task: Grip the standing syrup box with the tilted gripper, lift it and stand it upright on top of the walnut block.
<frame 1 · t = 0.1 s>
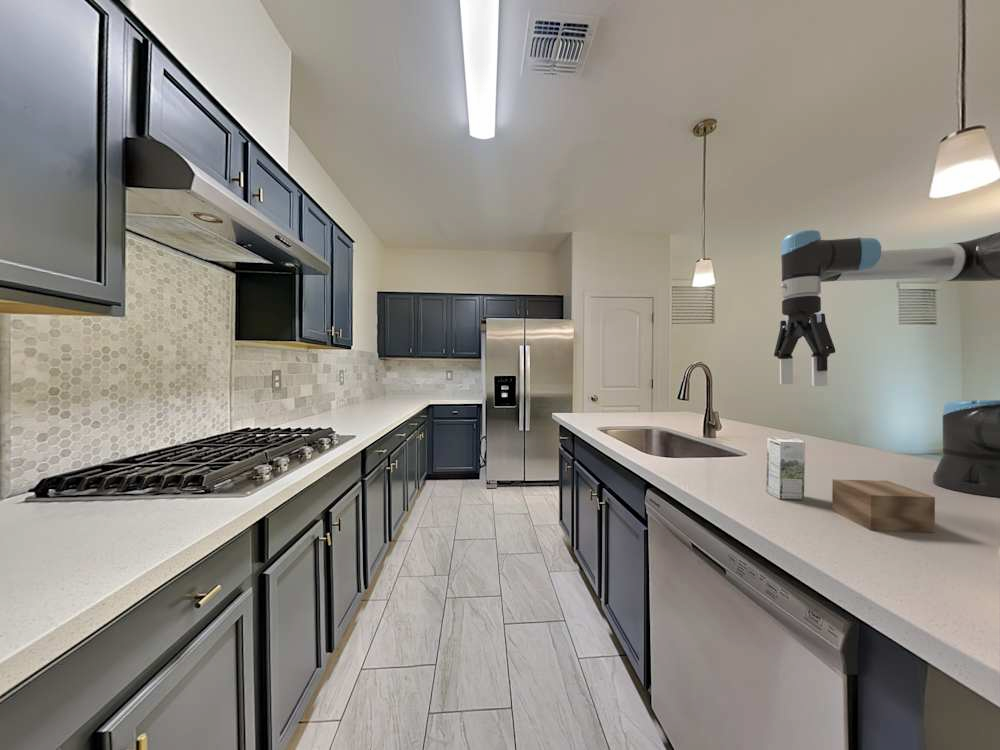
hand: (801, 385, 96), 28 cm above the countertop, tool pointing down, fingers open, 13 cm apart
walnut block: (879, 520, 83), on the countertop
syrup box: (785, 497, 99), on the countertop
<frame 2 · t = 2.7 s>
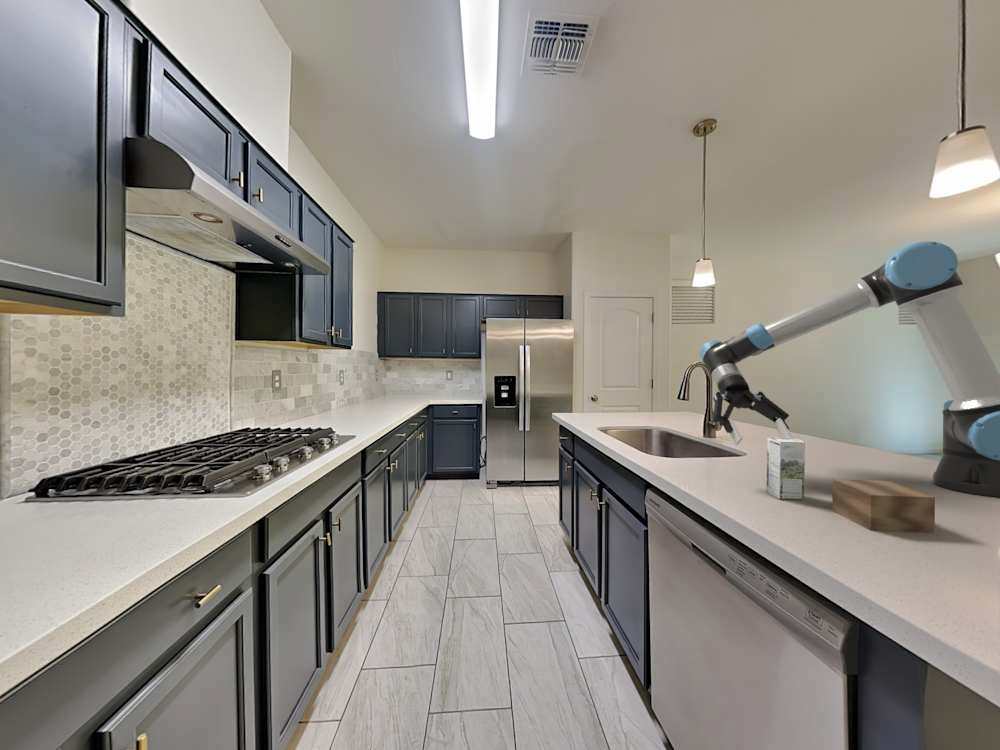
hand: (764, 441, 105), 13 cm above the countertop, tool tilted 45°, fingers open, 13 cm apart
nothing on the countertop moved.
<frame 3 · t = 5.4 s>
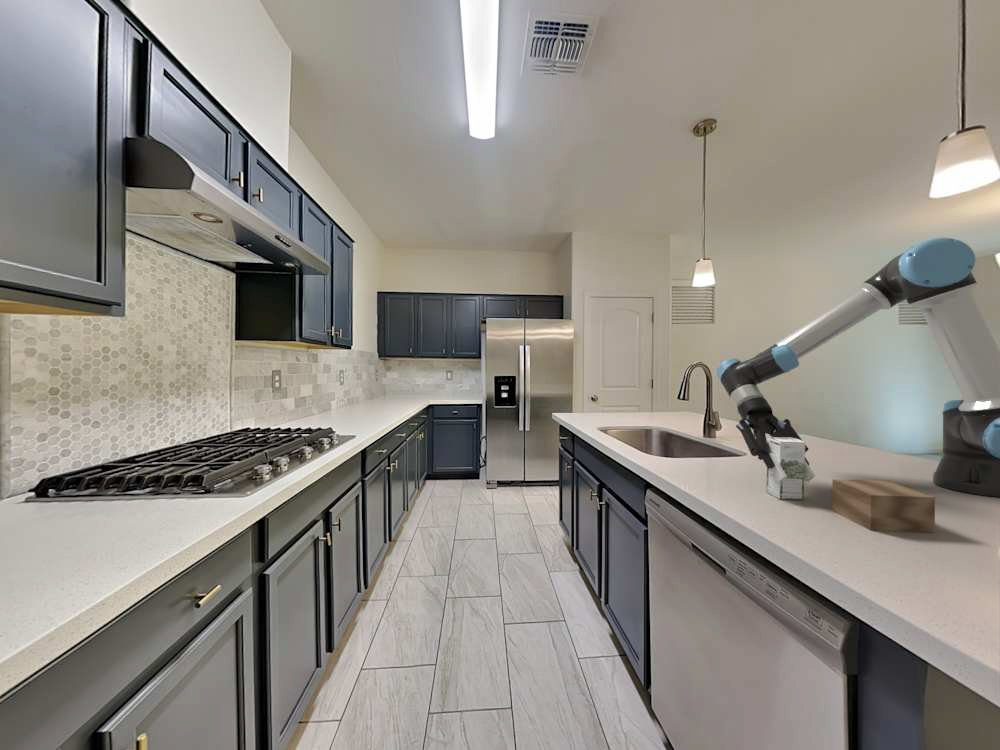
hand: (796, 478, 95), 5 cm above the countertop, tool tilted 45°, fingers closed on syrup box, 6 cm apart
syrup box: (785, 497, 99), on the countertop, touching gripper
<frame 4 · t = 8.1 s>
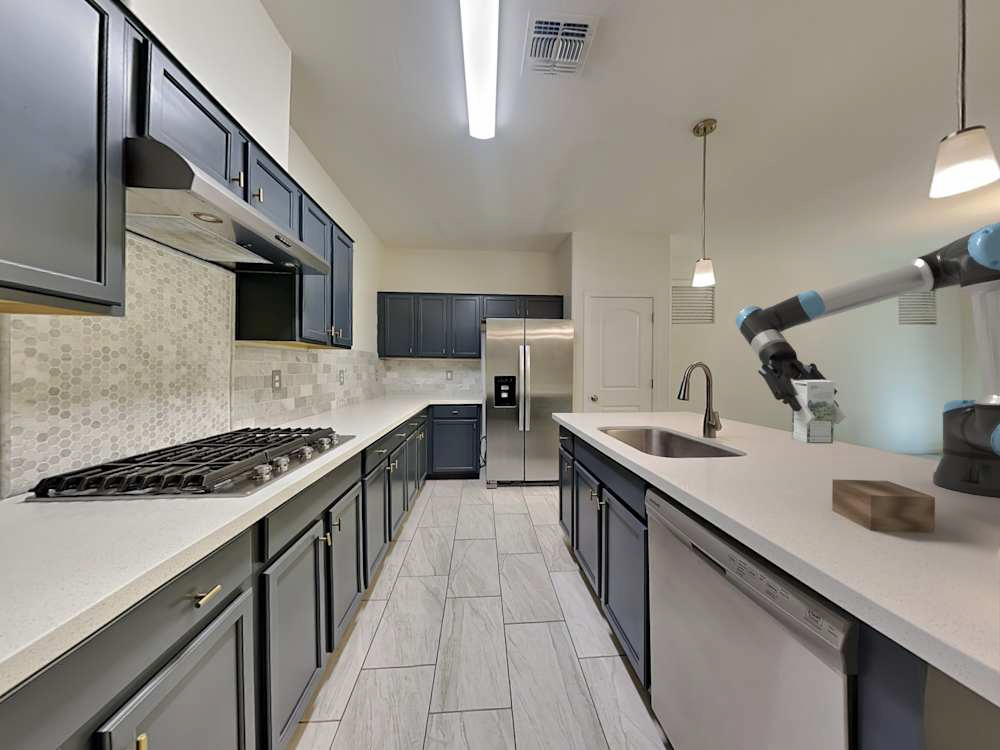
hand: (825, 420, 89), 20 cm above the countertop, tool tilted 45°, fingers closed on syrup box, 6 cm apart
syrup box: (812, 442, 93), point 15 cm above the countertop, touching gripper
when the fingers open (14 cm above the countertop, at t = 10.8 s): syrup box drops 1 cm, resting on walnut block.
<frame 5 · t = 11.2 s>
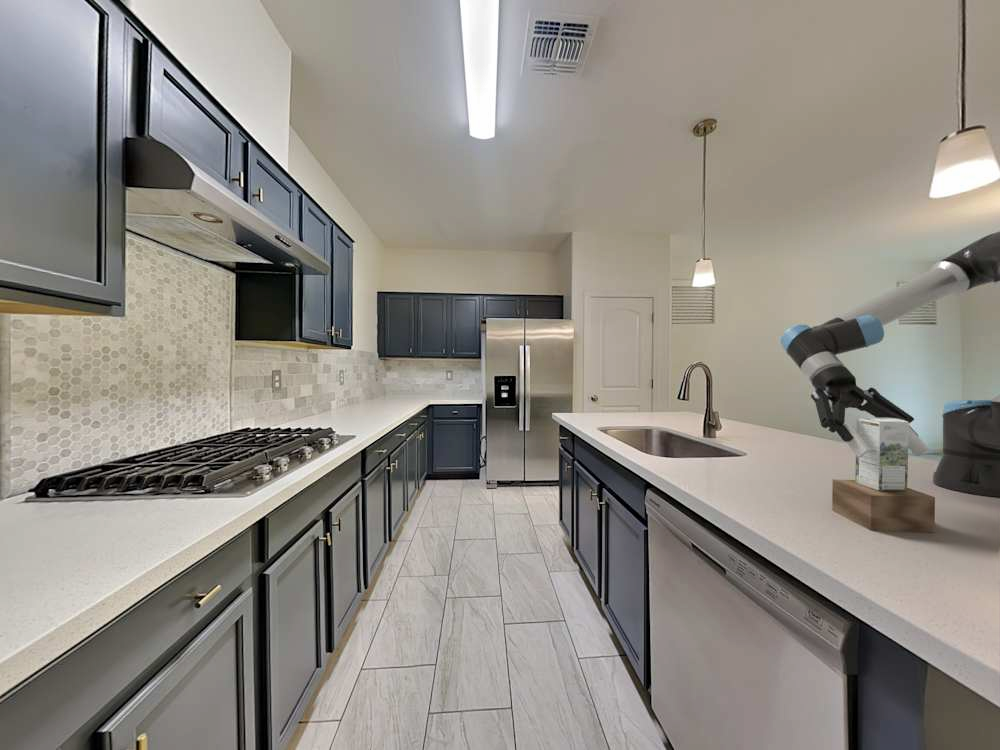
hand: (893, 453, 80), 15 cm above the countertop, tool tilted 45°, fingers open, 11 cm apart
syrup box: (880, 488, 83), point 7 cm above the countertop, touching walnut block
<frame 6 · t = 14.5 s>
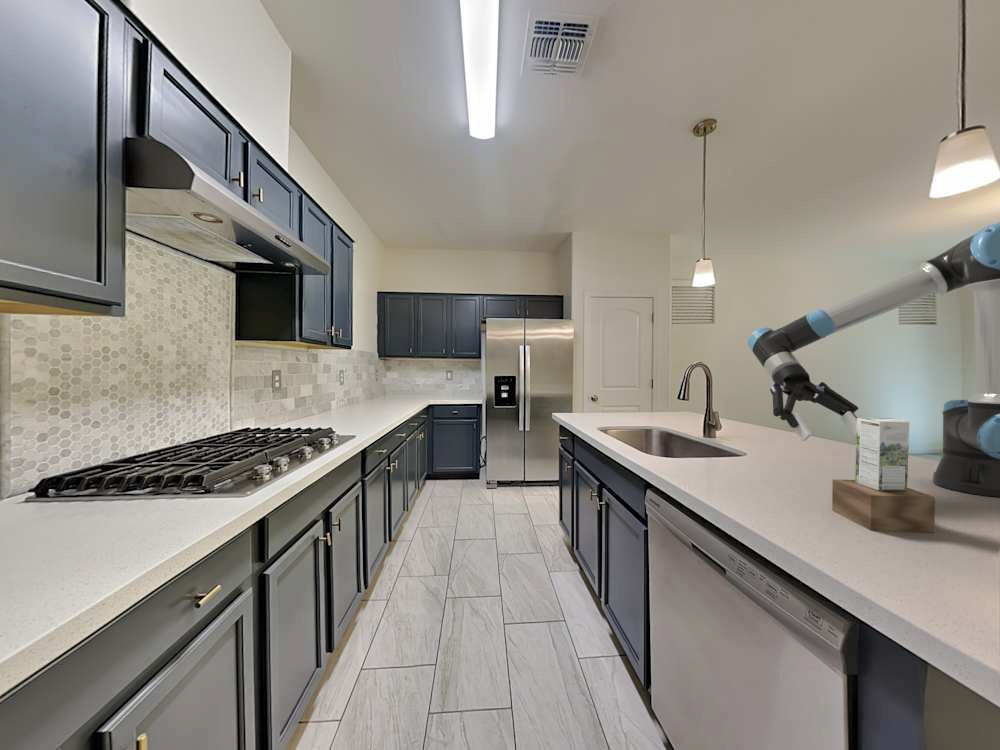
hand: (835, 437, 93), 16 cm above the countertop, tool tilted 45°, fingers open, 13 cm apart
nothing on the countertop moved.
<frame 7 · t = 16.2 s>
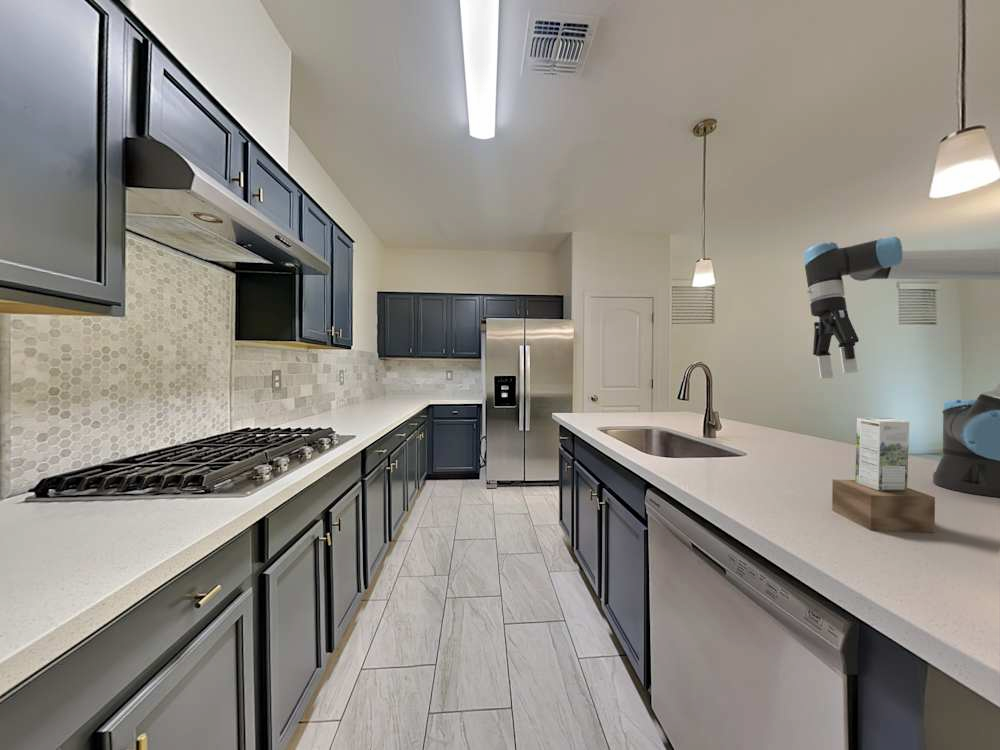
hand: (837, 375, 107), 30 cm above the countertop, tool pointing down, fingers open, 13 cm apart
nothing on the countertop moved.
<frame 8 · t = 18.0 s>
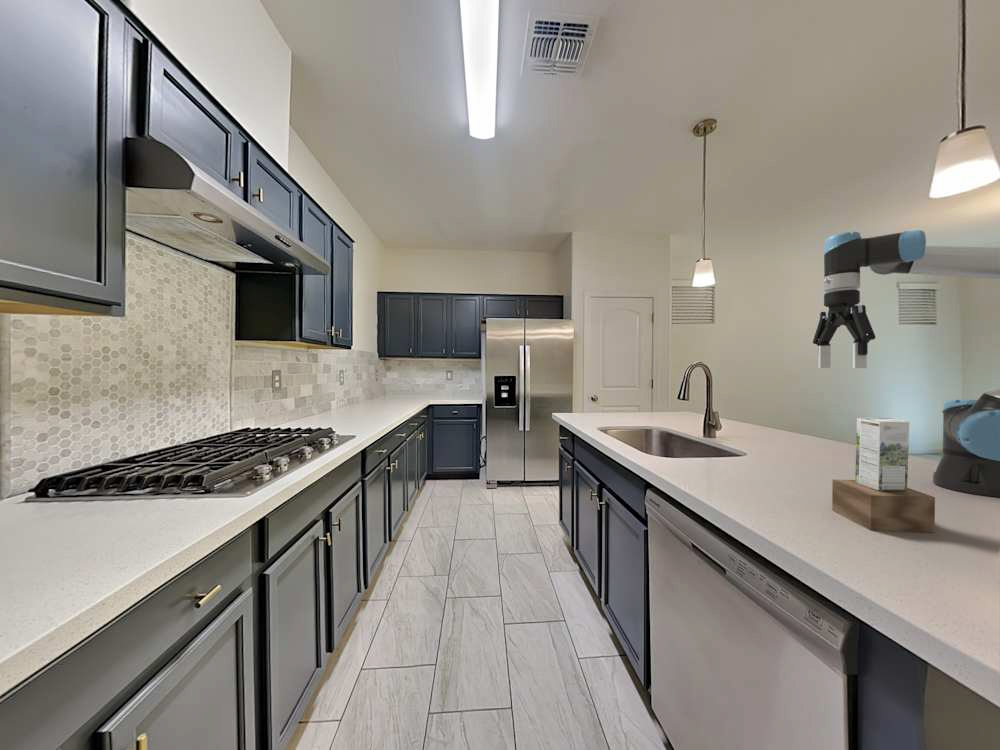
hand: (840, 368, 110), 32 cm above the countertop, tool pointing down, fingers open, 13 cm apart
nothing on the countertop moved.
at the end: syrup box 0.2 cm off-centre on the walnut block, point 6.8 cm above the walnut block's base; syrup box tilted 0°; the gripper is holding nothing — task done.
